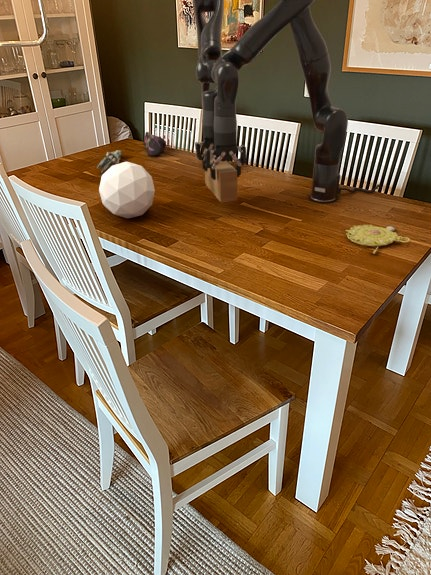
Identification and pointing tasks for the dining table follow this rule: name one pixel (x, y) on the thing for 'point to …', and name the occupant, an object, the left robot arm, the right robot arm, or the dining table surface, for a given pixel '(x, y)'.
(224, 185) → the box
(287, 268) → the dining table surface
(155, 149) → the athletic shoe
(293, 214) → the dining table surface
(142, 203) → the sphere
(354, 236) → the decorative object
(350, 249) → the dining table surface
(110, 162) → the figurine
